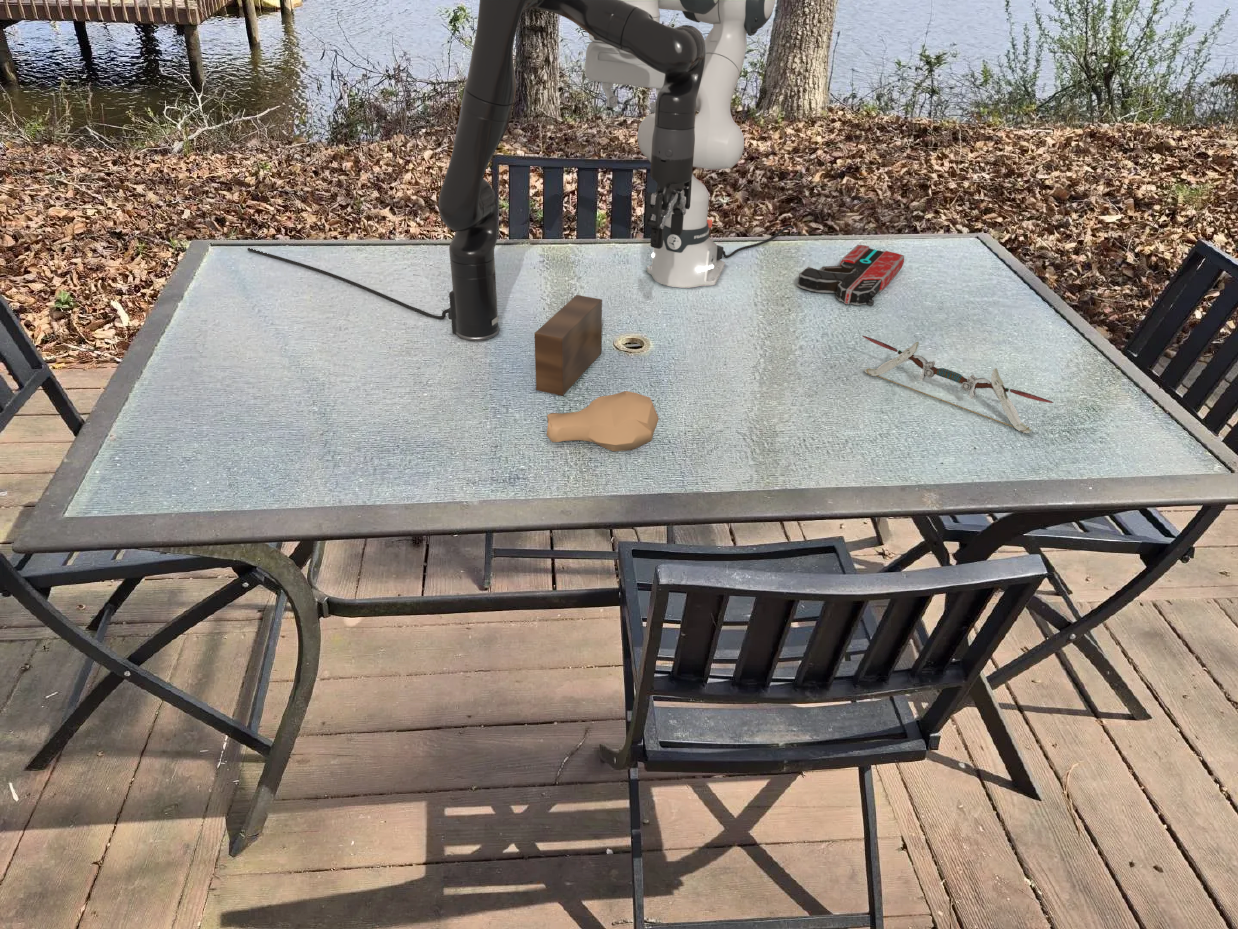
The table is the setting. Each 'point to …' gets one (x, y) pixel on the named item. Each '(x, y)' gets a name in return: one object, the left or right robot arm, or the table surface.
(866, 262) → the gun
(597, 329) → the box
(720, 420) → the table surface
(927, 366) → the bow
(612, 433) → the squash
